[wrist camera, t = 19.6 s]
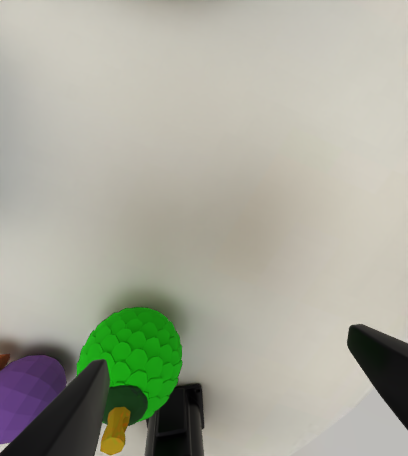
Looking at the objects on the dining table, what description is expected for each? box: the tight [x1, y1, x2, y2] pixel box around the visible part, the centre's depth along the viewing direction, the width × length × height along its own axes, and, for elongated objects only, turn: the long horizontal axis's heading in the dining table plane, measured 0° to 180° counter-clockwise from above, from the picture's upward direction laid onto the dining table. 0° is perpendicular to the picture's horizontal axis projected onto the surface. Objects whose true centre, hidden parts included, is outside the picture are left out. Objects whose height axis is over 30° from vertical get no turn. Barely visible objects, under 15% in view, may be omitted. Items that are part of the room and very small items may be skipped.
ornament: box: [76, 307, 182, 455], centre depth 17 cm, size 8×8×10 cm
